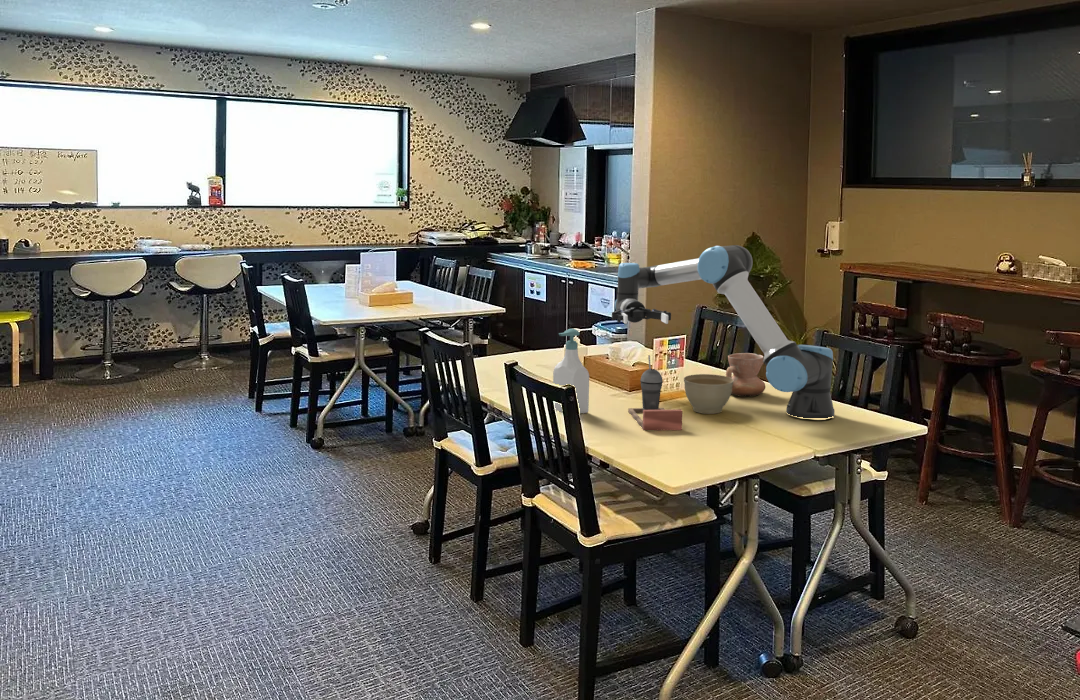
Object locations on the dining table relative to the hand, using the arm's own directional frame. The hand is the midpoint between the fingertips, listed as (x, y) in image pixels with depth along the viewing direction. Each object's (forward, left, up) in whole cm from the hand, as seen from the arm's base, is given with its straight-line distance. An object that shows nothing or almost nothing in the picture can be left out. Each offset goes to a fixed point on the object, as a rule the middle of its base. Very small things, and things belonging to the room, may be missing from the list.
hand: (646, 319), depth 298 cm
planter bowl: (-13, -16, -30) cm, 37 cm away
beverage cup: (-8, +5, -30) cm, 32 cm away
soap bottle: (+12, +23, -30) cm, 40 cm away
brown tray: (-12, +7, -30) cm, 33 cm away
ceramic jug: (-3, -45, -30) cm, 55 cm away
